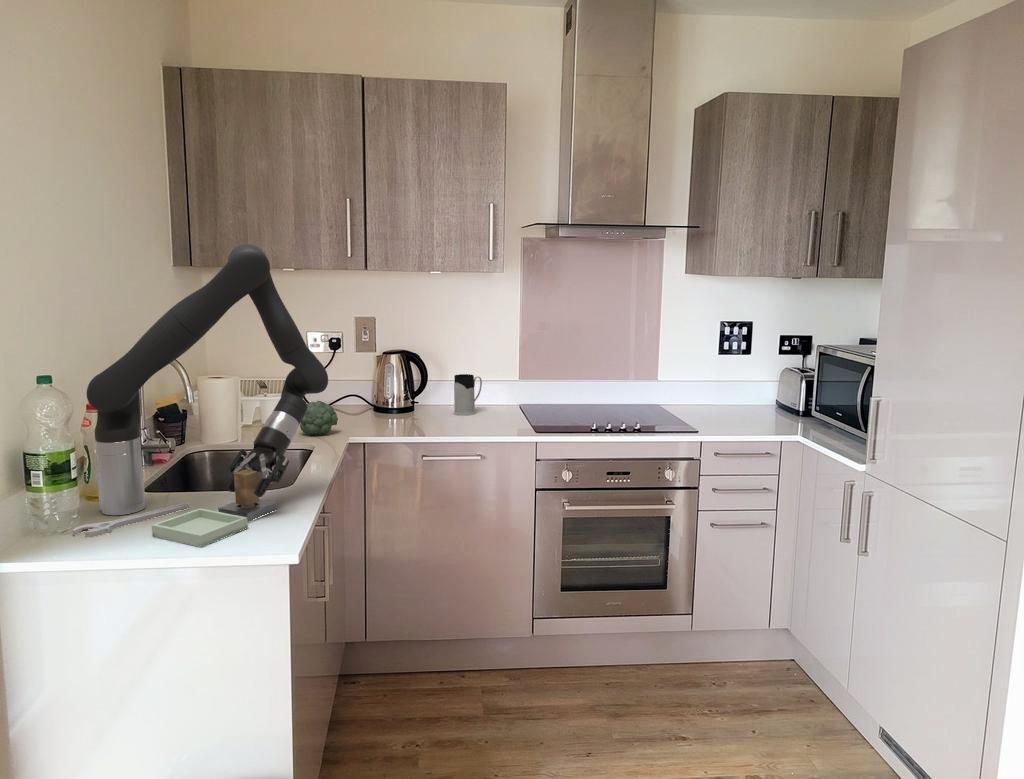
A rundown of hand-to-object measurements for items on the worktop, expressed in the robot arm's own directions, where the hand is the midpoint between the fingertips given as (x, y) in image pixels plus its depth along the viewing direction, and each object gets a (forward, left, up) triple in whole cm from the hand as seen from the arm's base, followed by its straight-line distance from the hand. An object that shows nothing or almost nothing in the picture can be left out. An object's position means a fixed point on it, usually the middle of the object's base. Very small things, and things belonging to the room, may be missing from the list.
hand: (243, 492), depth 173 cm
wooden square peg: (0, +1, -5) cm, 6 cm away
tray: (0, -12, -5) cm, 14 cm away
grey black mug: (-16, +132, -6) cm, 133 cm away
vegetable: (-44, +76, -6) cm, 88 cm away
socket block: (0, +1, -5) cm, 6 cm away
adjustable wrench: (-19, -14, -6) cm, 24 cm away
